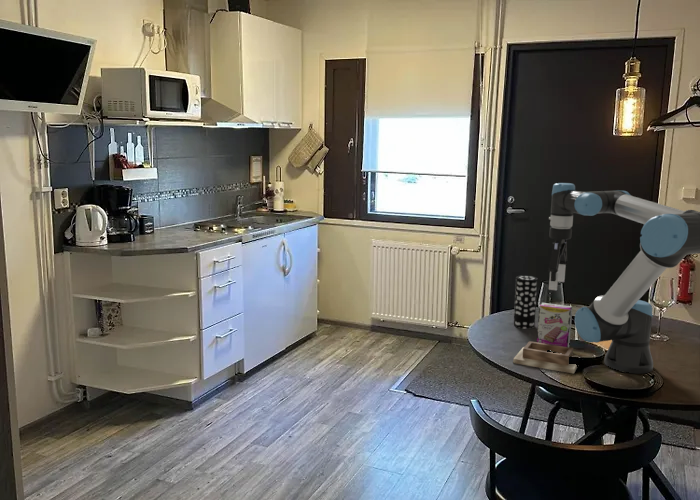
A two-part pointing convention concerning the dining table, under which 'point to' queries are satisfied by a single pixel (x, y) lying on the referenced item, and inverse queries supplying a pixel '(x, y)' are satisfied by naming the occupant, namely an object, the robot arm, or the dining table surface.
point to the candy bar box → (554, 324)
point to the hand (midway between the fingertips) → (556, 285)
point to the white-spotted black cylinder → (525, 302)
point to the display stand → (546, 357)
